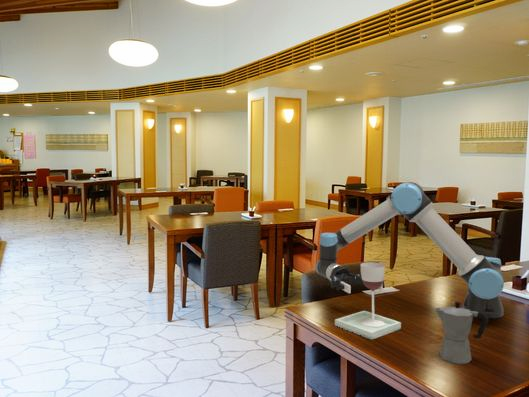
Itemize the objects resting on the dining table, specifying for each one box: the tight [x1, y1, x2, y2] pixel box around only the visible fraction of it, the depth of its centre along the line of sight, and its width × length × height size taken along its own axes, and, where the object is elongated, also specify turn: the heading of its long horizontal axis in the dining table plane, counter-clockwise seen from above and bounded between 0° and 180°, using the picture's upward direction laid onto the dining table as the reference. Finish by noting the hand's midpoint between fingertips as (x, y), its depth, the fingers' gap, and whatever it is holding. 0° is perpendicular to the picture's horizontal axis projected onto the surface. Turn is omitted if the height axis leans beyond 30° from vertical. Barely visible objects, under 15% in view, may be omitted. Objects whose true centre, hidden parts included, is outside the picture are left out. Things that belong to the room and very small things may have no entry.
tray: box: [334, 310, 402, 340], centre depth 170 cm, size 17×17×2 cm
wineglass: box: [360, 261, 386, 327], centre depth 171 cm, size 9×10×22 cm
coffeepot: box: [434, 301, 489, 365], centre depth 143 cm, size 15×9×18 cm, turn 66°
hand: (366, 288), depth 170 cm, fingers open, 13 cm apart
